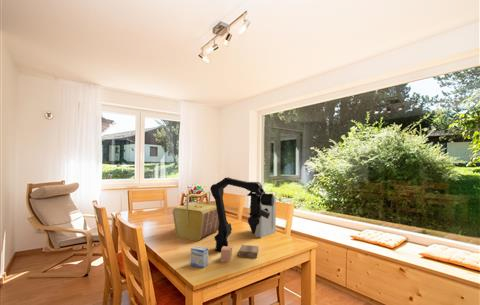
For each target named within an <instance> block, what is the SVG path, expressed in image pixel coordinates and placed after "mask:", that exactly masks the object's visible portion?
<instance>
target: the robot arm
mask: <svg viewBox="0 0 480 305" xmlns="http://www.w3.org/2000/svg"><path fill="white" fill-rule="evenodd" d="M228 185H229V186H233V187H238V188H240V189H241V188H242V189H245V190H247V191H248V192H249V193H247V194H246V196H248V197H250V206H249V216H248V218H247V223H248V225H249V227H250V230H251V233H252V235H254V234H255V231H256V227H257V225H258V224H259V223H260V218H261V216H263V217H265V218H267V219H268V218H269V215H270V212H269V211H268V209H267V208H265V209H261V206H260V202H261V204H262V205H266V206H273V205H274V196H273V195H274V194H273V193H266V191H265V190H264V188H263V185H262V183H261V182H260V181H246V180H245V181H244V180H240V179H236V178H231V177H224V178H223V179H222V180H219V181H218V182H217V183H214V184H212V185H211V186H210V188H209V189H210V190H209V191H210V194H211V196H212V198H213V199H214V201H215V204H216V208H217V214H218V219H219V226H218V231H217V234H215V236H214V241H215V250H214V251H215V252H221V249H222V247H223V246H227V247H229V240H228V238H229V236H230V235H231V234H232V231H233V228H232V223H231V222H228V220H227V215H226V209H225V204H224V199H223V198H224V193H225V192H224V191H225V190H224V189H225V188H227V187H228Z"/></svg>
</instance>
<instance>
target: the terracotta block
mask: <svg viewBox="0 0 480 305" xmlns="http://www.w3.org/2000/svg"><path fill="white" fill-rule="evenodd" d="M232 258H233V246H228V247H227V246H223V247H222V249H221V251H220V261H221V262H231V261H232Z"/></svg>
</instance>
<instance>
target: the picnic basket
mask: <svg viewBox="0 0 480 305" xmlns="http://www.w3.org/2000/svg"><path fill="white" fill-rule="evenodd" d="M207 193H208V202H201V201H197V202H193V203H190V204H189V199H190V197H192V196H194V198H195V197H197V198H198V197H202V196H204V195H205V194H207ZM211 196H212V193H211V191H210V190H206V191H203V192H201V193H200V194H199V193H192V194H188V195H187V196H186V204H185V205H181V206H178V207H174V208H173V209H172V217H173V222H174V223H173V224H174V229H175V235H176V236H177V237H178V238H180V239H184V240H191V241H195V242H196V241H199V240H201V239H203V238H205V237H207V236H208V235H211V234H212V233H215V232H218V226H219V219H218V214H217V208H216V203H212V202H211Z"/></svg>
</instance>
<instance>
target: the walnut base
mask: <svg viewBox="0 0 480 305" xmlns="http://www.w3.org/2000/svg"><path fill="white" fill-rule="evenodd" d="M238 250H239V251H238V257H239V258H240V257H241V258H254V259H257V258H258V256H259V255H258V254H259V245H250V244H249V245H245V244H241V246H240V249H238Z"/></svg>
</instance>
